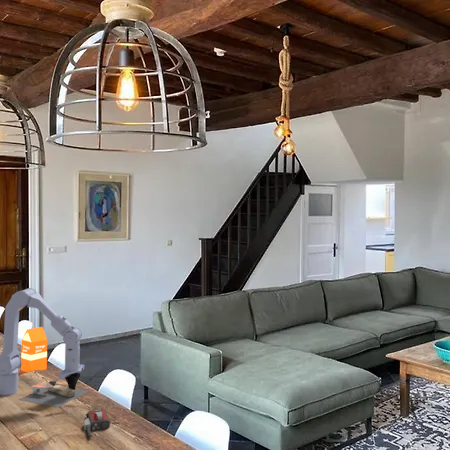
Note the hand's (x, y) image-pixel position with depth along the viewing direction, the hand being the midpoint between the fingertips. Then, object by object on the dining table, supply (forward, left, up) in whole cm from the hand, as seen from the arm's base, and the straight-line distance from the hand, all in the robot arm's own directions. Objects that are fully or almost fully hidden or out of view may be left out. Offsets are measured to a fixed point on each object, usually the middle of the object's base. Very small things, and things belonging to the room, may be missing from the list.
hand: (71, 391), depth 205 cm
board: (-5, -4, -2) cm, 7 cm away
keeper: (-11, -5, -1) cm, 12 cm away
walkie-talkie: (+27, -21, -3) cm, 34 cm away
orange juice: (-40, +22, -2) cm, 45 cm away
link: (-4, -1, -1) cm, 5 cm away
